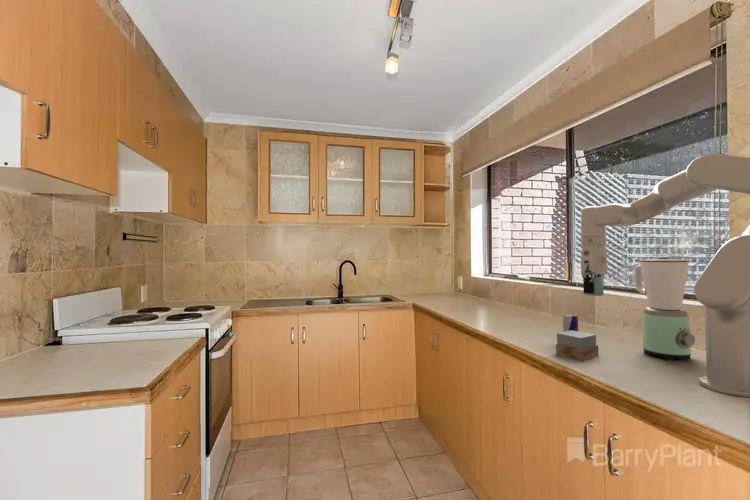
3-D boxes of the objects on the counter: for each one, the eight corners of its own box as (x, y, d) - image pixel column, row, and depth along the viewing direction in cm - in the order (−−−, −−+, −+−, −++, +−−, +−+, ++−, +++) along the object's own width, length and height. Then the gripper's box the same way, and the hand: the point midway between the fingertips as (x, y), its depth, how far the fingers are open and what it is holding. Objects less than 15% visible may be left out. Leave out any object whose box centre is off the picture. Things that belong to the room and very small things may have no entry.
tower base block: (598, 356, 125) (598, 345, 125) (584, 361, 120) (584, 350, 120) (570, 350, 134) (569, 340, 134) (556, 355, 128) (555, 344, 128)
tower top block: (596, 345, 125) (595, 334, 125) (581, 349, 121) (581, 338, 121) (571, 340, 133) (571, 330, 133) (557, 344, 128) (556, 333, 129)
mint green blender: (708, 361, 116) (704, 257, 117) (676, 364, 113) (673, 258, 114) (651, 346, 135) (649, 256, 135) (623, 349, 132) (621, 257, 132)
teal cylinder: (606, 294, 122) (606, 277, 122) (598, 296, 118) (598, 278, 118) (588, 292, 127) (588, 276, 127) (580, 294, 123) (580, 277, 123)
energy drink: (580, 346, 137) (579, 316, 137) (566, 346, 138) (565, 316, 138) (575, 343, 142) (575, 314, 142) (561, 342, 143) (560, 313, 143)
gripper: (593, 241, 114) (593, 295, 115) (616, 241, 124) (616, 291, 124) (570, 241, 121) (569, 293, 121) (593, 241, 130) (593, 289, 130)
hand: (593, 291), depth 123 cm, fingers closed on teal cylinder, 6 cm apart
